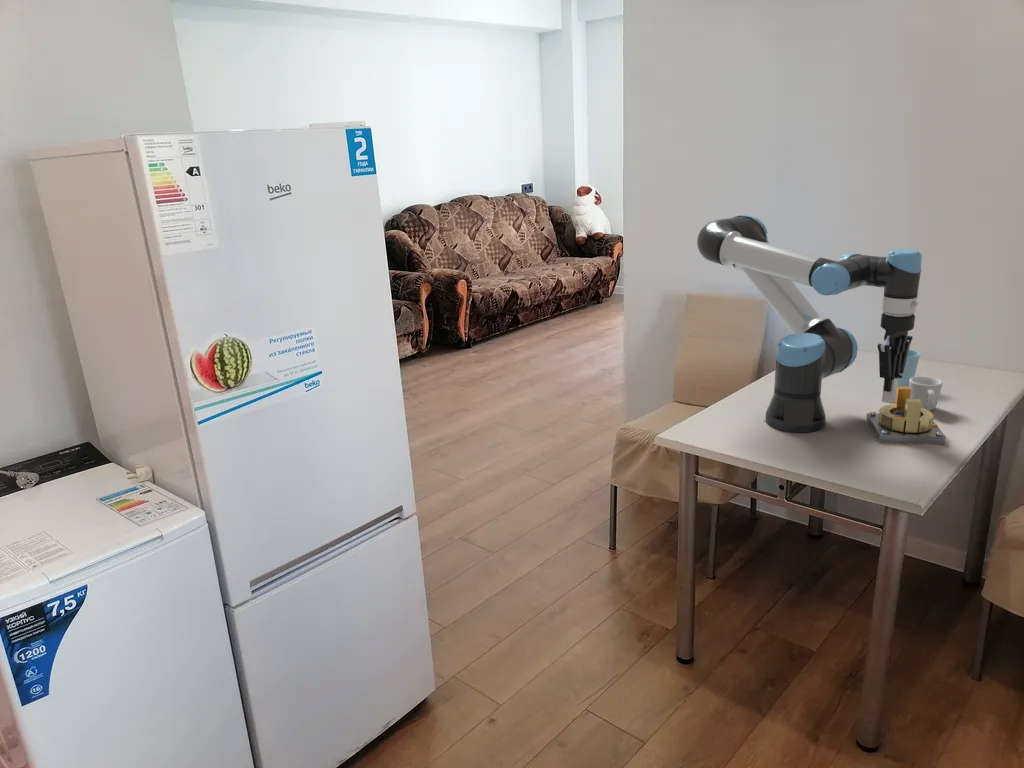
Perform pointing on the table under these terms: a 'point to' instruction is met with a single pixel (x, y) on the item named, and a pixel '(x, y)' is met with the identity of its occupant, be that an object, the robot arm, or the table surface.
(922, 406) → the cup
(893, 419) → the ring nut
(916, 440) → the flange
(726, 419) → the table surface
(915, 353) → the cup
